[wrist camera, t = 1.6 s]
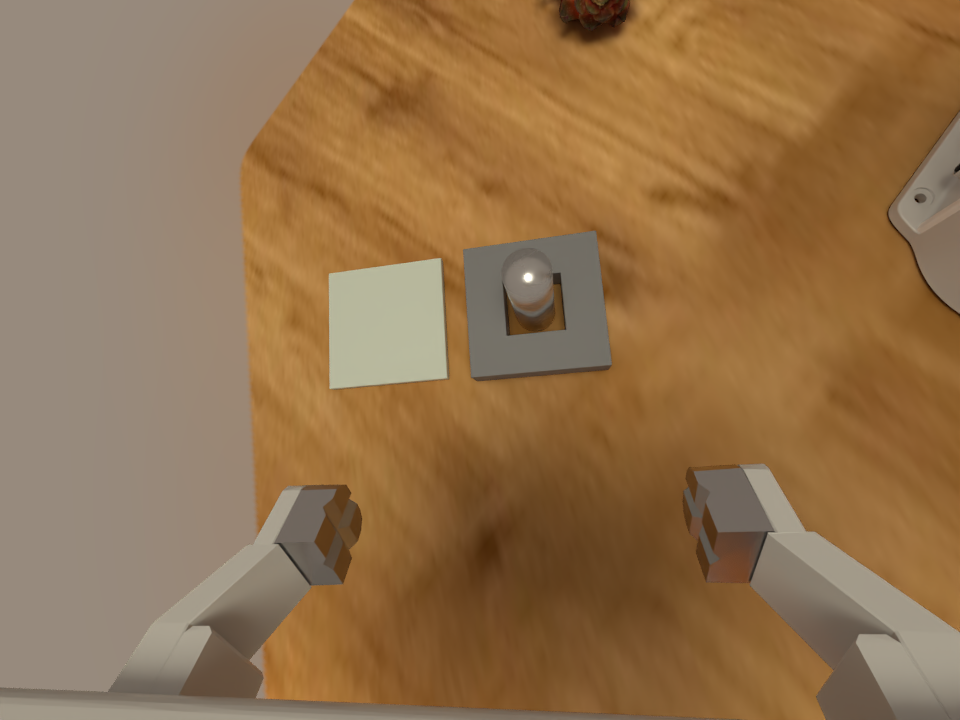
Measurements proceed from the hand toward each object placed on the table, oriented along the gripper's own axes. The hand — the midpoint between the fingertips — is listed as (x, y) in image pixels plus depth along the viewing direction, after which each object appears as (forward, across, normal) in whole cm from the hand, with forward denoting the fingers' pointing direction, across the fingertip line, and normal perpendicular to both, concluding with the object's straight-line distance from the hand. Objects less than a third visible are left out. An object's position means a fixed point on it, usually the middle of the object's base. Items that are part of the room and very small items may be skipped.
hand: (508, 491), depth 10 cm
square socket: (+30, 0, +12) cm, 32 cm away
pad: (+30, +15, +12) cm, 35 cm away
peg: (+30, 0, +12) cm, 32 cm away
